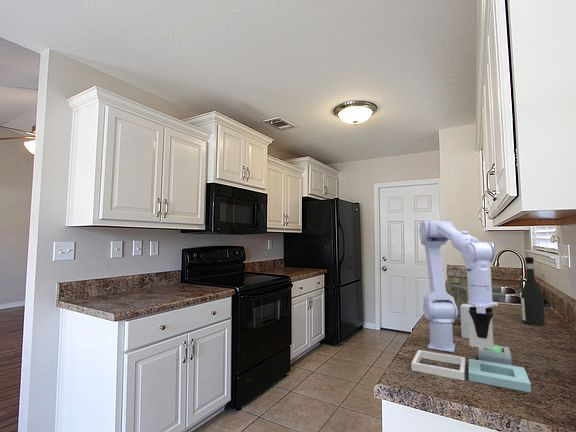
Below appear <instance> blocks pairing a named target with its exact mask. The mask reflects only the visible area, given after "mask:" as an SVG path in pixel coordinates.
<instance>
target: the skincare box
mask: <svg viewBox="0 0 576 432" xmlns="http://www.w3.org/2000/svg"><path fill="white" fill-rule="evenodd" d="M469 307H474V306H472V305H470V304H462V305H461V306H460V314H461V317H460V329H461V330H460V332H461V338H463V339H468V340H469V321H468V314H469V310H470V309H469Z"/></svg>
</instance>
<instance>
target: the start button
mask: <svg viewBox="0 0 576 432" xmlns="http://www.w3.org/2000/svg"><path fill="white" fill-rule="evenodd" d="M493 346H494V349H487V348H486V350H490V351H497V352H502V347H501V345H498V344H494V343H493Z"/></svg>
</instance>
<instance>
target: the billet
mask: <svg viewBox="0 0 576 432" xmlns="http://www.w3.org/2000/svg"><path fill="white" fill-rule="evenodd" d="M468 321H469V339H468V340H469V347H472V348H473V347H475V348H478V347H480V348H487V349H494V346H493V344H494V333H493V332H494V330H493V317H492V318H491V321H490V324H489V329H488V336H487V339H484V338H478V337H477V334H476V329H475V325H474V322H473V319H472V317H471V315H470V313H469V314H468Z"/></svg>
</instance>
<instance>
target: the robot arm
mask: <svg viewBox="0 0 576 432" xmlns="http://www.w3.org/2000/svg"><path fill="white" fill-rule="evenodd" d="M418 232H419V240H420V244H421V245H422V246H423V247H424V252H425V258H426V267H427V272H428V273H427V274H428V282H429V288H430V291H429V293H428V294H427V295H425V296H424V297H423V300H422V301H423V305H422V312H423V316H424V317H425V319H426V320H427V321H429V325H428V327H429V343H428V345H427V349H430V350H434V351H436V350H437V351H442V352H450V353H455V350H456V349H455V348H456V343H454V340H453V339H454V337H453V336H454V334H453V322H454V321H455V319H456V318H458V317H457V316H458V309H457V306H456V304H455V301H454V298H453V297H452V296H451V295H449V294H448V293H447V292H446V287H445V283H446V282H445V275H444V274H445V273H444V269H443V260H442V254H441V247H442V246H444V245H446V244H447V242H448V241H451V242H450V243H451V245H452V247H453V248H454V249H456V250H457V251H458V252H460V253H461V257H462V259H463V263H464V267H465V269H466V275H467V276H466V277H467V284H468V304H470V305H472V306H474V307H469V309H470V310H469V313H470V315H471V317H472V319H473V322H474V325H475V329H476V334H477V337H478V338H484V339H487V336H488V329H489V324H490V321H491V318H492V319H493V316H494V312H493V308H492V307H498V306H499V303H498V302H496V301H493V287H492V268H491V263H492V262H493V261H494V260H495V258H496V257H495V256H496V251H495V247H494V245H493V244H492V243H491V242H490V241H484V242H481V241H480V240H479V239H478V238H477V237H474V236H472V235H471V234H469V231H466V230H461V231H459V230H458V229H457V228H455V226H454V224H453V222H452V221H450V219H449V220H425V219H424V220H422V221H421V222H420V225H419V227H418ZM437 300H443V301H445V302H437ZM456 320H457V319H456Z"/></svg>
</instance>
